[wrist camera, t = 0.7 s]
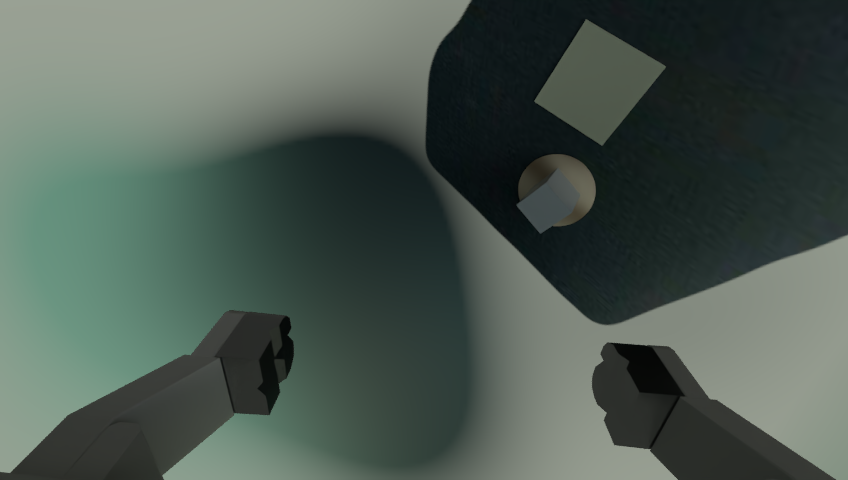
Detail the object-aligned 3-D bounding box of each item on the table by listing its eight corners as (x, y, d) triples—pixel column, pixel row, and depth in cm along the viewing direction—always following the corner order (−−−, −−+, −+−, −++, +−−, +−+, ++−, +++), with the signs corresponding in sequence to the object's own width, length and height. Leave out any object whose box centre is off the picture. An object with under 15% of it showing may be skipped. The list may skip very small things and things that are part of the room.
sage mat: (586, 19, 43) (586, 19, 42) (666, 66, 41) (666, 66, 41) (534, 101, 48) (534, 101, 48) (602, 145, 47) (602, 145, 47)
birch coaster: (546, 138, 50) (546, 139, 49) (613, 183, 48) (613, 183, 48) (505, 197, 55) (504, 198, 55) (563, 239, 54) (563, 239, 54)
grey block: (557, 167, 50) (545, 182, 44) (580, 194, 50) (571, 213, 44) (530, 188, 53) (516, 205, 47) (552, 214, 53) (540, 233, 47)
